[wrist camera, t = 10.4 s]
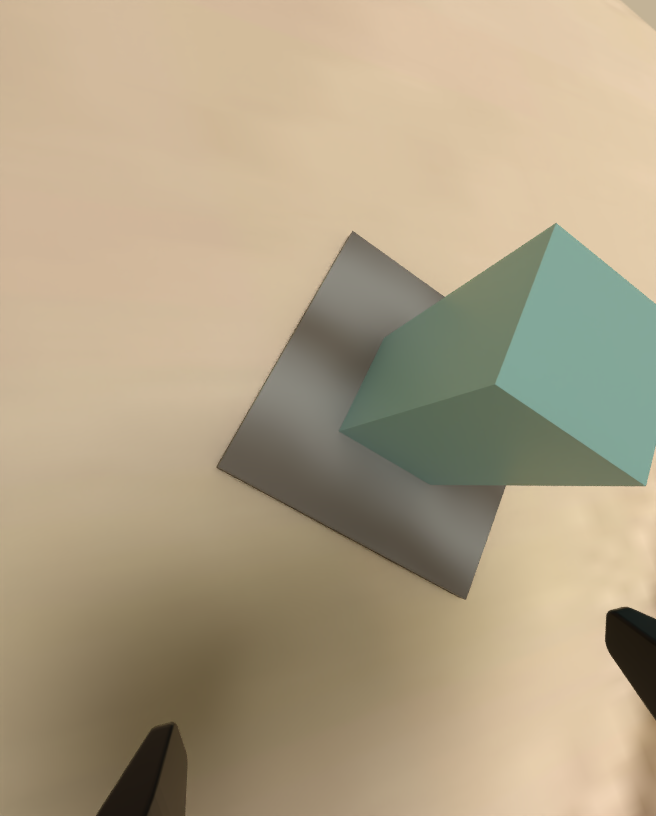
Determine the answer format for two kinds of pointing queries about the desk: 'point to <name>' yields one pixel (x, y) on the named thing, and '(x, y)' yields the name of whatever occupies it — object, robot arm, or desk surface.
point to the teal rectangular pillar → (520, 377)
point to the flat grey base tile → (342, 456)
